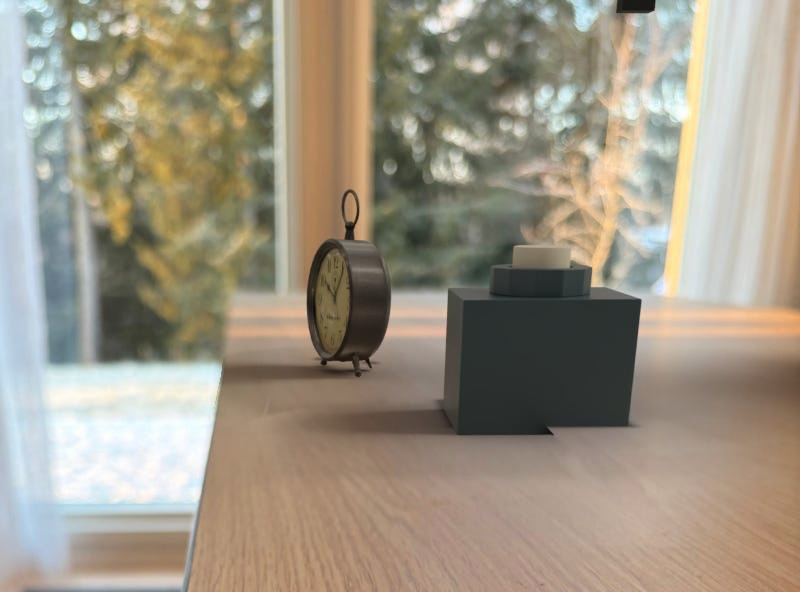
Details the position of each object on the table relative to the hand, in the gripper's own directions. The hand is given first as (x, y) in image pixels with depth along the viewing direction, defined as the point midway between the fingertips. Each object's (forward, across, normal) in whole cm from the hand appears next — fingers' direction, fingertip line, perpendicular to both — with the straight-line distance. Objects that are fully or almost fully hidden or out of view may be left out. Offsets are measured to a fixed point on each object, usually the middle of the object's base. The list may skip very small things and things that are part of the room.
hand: (635, 11), depth 86 cm
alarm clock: (+30, -7, -22) cm, 38 cm away
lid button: (+19, +19, -12) cm, 29 cm away
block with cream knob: (+29, +19, -12) cm, 37 cm away
